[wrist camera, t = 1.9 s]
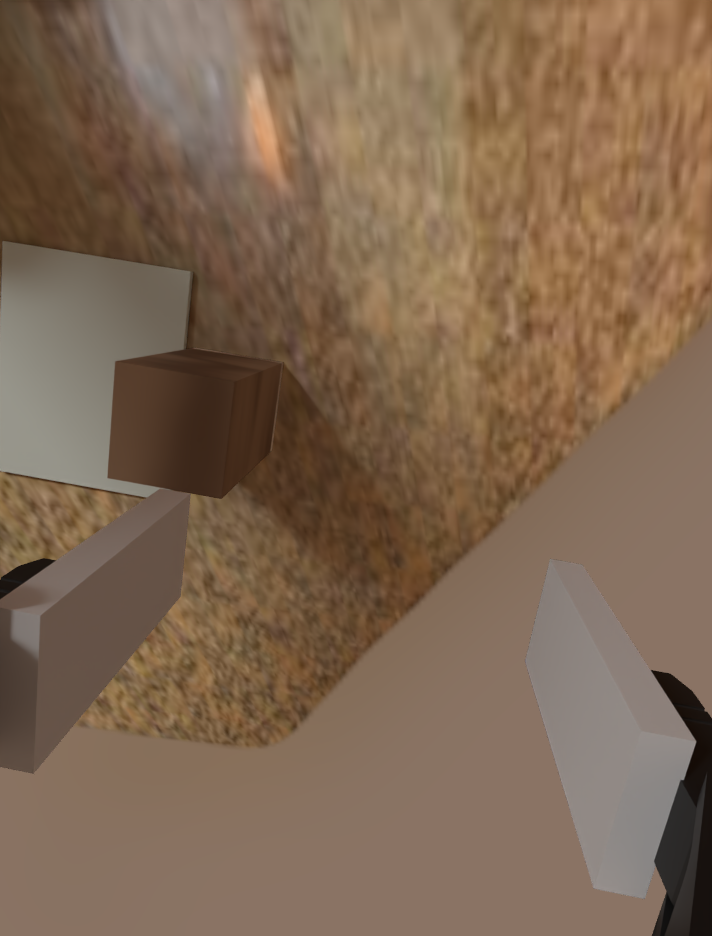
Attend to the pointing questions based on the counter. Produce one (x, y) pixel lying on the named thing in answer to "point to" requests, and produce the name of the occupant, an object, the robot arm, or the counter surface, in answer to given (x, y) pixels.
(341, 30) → the counter surface
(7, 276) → the mat
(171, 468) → the block
